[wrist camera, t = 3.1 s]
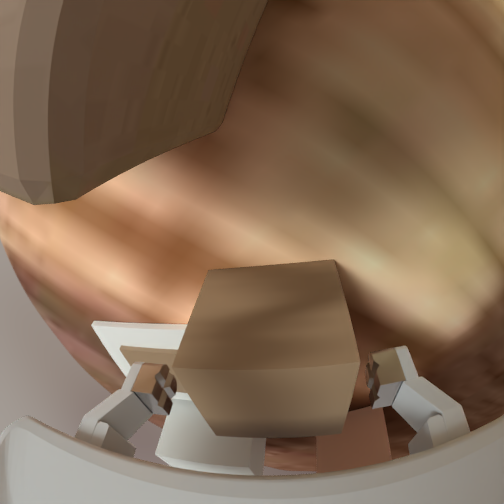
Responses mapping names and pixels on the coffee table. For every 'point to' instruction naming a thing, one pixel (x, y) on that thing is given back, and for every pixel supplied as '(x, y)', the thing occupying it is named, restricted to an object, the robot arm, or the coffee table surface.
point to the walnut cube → (270, 351)
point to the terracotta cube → (355, 442)
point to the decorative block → (110, 85)
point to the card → (142, 345)
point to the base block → (206, 445)
